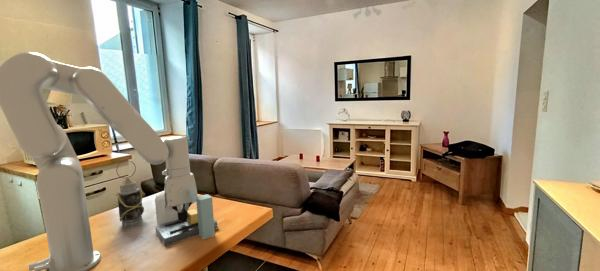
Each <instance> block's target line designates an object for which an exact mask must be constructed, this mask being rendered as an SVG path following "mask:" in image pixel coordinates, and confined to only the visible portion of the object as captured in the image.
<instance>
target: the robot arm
mask: <svg viewBox="0 0 600 271" xmlns="http://www.w3.org/2000/svg"><path fill="white" fill-rule="evenodd" d="M44 89H45V90H50V91H55V92H59V93H64V94H69V95H75V96H80V97H82V99H83V100H84V101H86V103H87V104H88V105H89V106H90V107H91V108H92V109H93V110H94V111H95V112H96V113H97V114H98V116H99V117H100V118H101V119H102V120H103V121H104V122H105V123H106V124H107V125H108V126H109V127H110V128H111V129H113V131H115V132H116V133H117V134H119V135H120V136H121V137H122V138H123V139H125V141H127V143H128V144H130V145H131V147H132V148H133V149H134V150H135V151H136V152H137V154H138V156H139V158H141V159H142V160H144V161H145V162H146V163H148V164H150V165H154V166H155V165H160V164H163V163H164V162H165V170H163V171H161V175H163V176H165V178H164V191H163V192H164V196H165V202H166V205H165V208H166V209H167V210H168V209H174V210H176V211H177V213H178V220H180V221H181V222H182V223H184V222H187V218H188V212H187V211H188V210H190V209H189V208H190V207H191V206H192V204H194V203H197V201H196V197H198V190H197V183H196V180H195V176H194V173H193V172H191V164H190V154H189V153H190V152H189V144H188V139H187V137H186V136H183V135H174V136H173V135H172V136H168V137H160V135H159V134H158V133H157V132H156V130H154V129H153V128H152V126H151V125H150V123H148V122H147V121H146V120H145V119H144V118H143V116H142V115H141V113H139V112H138V110H137V109H136V108H135V107H134V106H133V105H132V104H131V103H130V102H129V100H128V99H127V98H126V97H125V96H124V95H123V93H122V92H121V91H120V90H119V89H118V87H116V85H115V84H114V83H113V81H111V80H110V79H109V77H108V76H107V75H106V74H105V73H104V72H103V71H101V70H100V69H99V68H96V67H93V66H85V67H79V66H74V65H70V64H65V63H62V62H59V61H55V60H51V58H49V57H47V56H46V55H44V54H41V53H39V52H35V51H23V52H20V53H17V54H14V55H13V56H11V57H9V58H8V59H6V60H5V61H4V62H3V63H2V64H1V65H0V109H1V111H2V113H3V114H4V116H5V119H6V121H7V123H8V126H9V127H10V128H11V131H12V132H13V135H14V136H15V139H16V141H17V143H18V145H19V147H20V148H21V150H22V151H23V153H25V154H27V155H28V156H30V157H31V158H32V160H33V163H34V164H35V166H36V168H37V169H38V172H37V175H36V189H37V193H38V197H39V201H40V206H41V211H42V217H43V221H44V228H45V232H46V239H47V244H48V252H49V254H48V257H45V258H44V259H43V260H40V261H35V262H31V263H28V270H29V271H88V270H90V269H92V268H93V267H94V266H95V265H97V264H98V263H99V262H100V260H101V252H100V251H98V250H94V246H93V245H94V244H93V238H92V232H91V231H92V230H91V224H90V223H91V222H90V218H89V217H90V215H89V210H88V203H87V197H86V189H85V179H84V173H83V172H84V170H83V167H82V166H83V165H82V163H81V162H80V160H79V158H78V156H77V154H76V152H75V150H74V148H73V145H72V143H71V141H70V139H69V137H68V135H67V133H66V131H65V130H64V128H63V127H62V126H60V125H59V124H57V122H56V120H55V118H54V116H53V114H52V112H51V110H50V107H49V105H48V103H47V101H46V100H45V96H44V94H43V90H44ZM182 204H183V208H182V209H181V206H180V205H182Z"/></svg>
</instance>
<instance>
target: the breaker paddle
mask: <svg viewBox="0 0 600 271" xmlns="http://www.w3.org/2000/svg"><path fill="white" fill-rule="evenodd" d="M187 212H188V218H187V221H188V222H189V223H190V224H195V223H198V214H197V209H195V208H193V209H188V210H187Z"/></svg>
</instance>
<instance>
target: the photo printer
mask: <svg viewBox="0 0 600 271" xmlns="http://www.w3.org/2000/svg"><path fill="white" fill-rule="evenodd" d="M154 204H155V216H156V224H157V225H161V224H164V223H168V222H171V221H175V220H178V213H177V211H176V210H174V209H168V210H167V209H166V208H165V205H166V202H165V196H164V191H163V192H160V193H157V194H156V195H155V199H154ZM180 206H181V209H182V208H183V204H182V205H180ZM157 225H156V226H157Z"/></svg>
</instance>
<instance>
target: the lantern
mask: <svg viewBox="0 0 600 271" xmlns="http://www.w3.org/2000/svg"><path fill="white" fill-rule="evenodd" d="M124 162H130V163H132V164H133V165H134V172H133V173H132V174H131V175H130V176H126V177H125V180H123V181H122V182H120V183H119V185H118V186H119V190H117V192H116V193H115V196H117V204H118V216H119V221H120V222H121V225H122V227H124V228H133V227H135V226H138V225H140V224H142V222H143V214H144V211H145V207H144V206H143V193H142V191H141V189H140V187H138V186H137V181H135V180H132V179H130V178H131V177H132V176H134V175H135V173H136V171H137V169H136V167H137V166H136V165H135V163H134V162H133V161H132V160H128V159H127V160H124V161H121V162H120V163H119V164H117V165H116V166H117V167H116V171H115V172H116V174H117V176H118V177H119V178H121V179H124V177H123V176H120V175H119V173H118V169H119V168H118V167H119V166H120V164H122V163H124Z"/></svg>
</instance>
